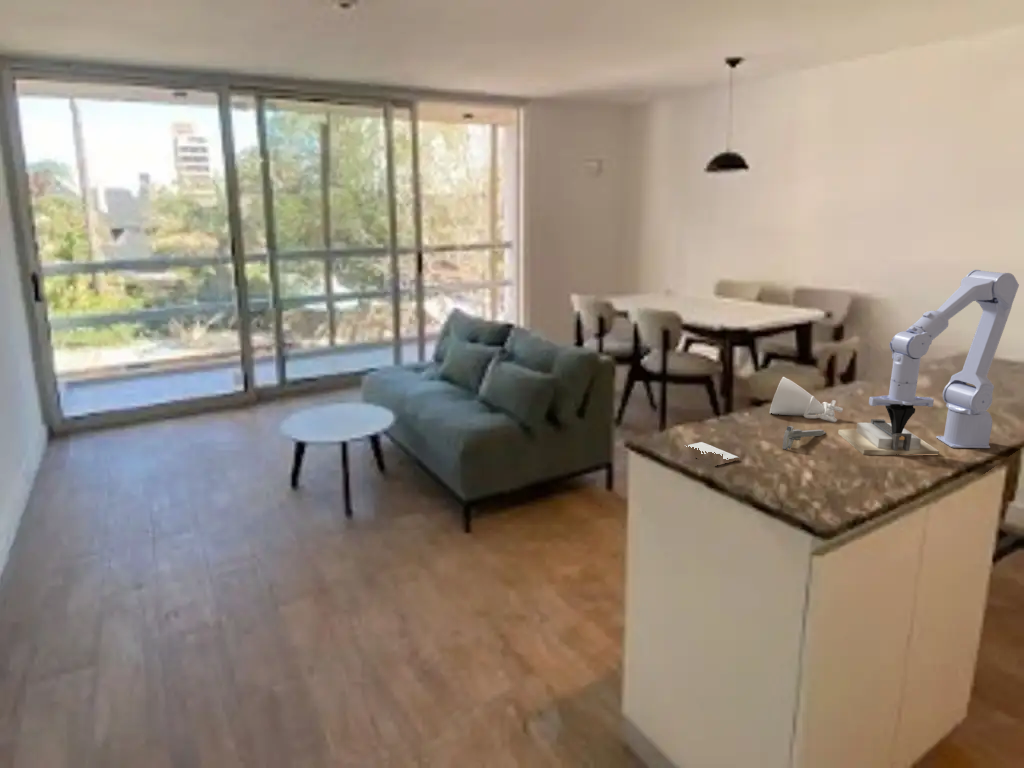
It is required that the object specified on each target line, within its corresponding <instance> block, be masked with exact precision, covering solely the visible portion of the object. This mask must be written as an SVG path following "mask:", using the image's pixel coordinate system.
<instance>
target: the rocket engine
mask: <svg viewBox="0 0 1024 768" xmlns="http://www.w3.org/2000/svg"><path fill="white" fill-rule="evenodd" d="M771 401H772V402H771V405H770V408H769V414H771V413H772V414H773V415H778V414H779V416H803V417H804V418H806V419H821V420H822V421H823V420H825V421H828V422H831V423H836V422H837V421H838V419H837V417H835V415H836V412H839V413H842V412H843V409H844V408H843V407H842V406H840V407H839V406H838V405H836V403H837V400H834V399H832V400H831V402H830V403H828V402H826V401H824V402H822V403H821V402H820V401H819V400H818V399H817V398H816V397H815V395H812V394H811V393H809V392H808V391H807V390H805V389H804V388H803V387H802V386H800V385H798V384H797V383H796V382H794V381H793V380H791V379H789V378H787V377H785V376H782V377H781V379H780V381H779V383H778V386H777V389H776V391H775V393H774V395H773V399H772V400H771Z"/></svg>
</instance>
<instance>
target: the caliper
mask: <svg viewBox="0 0 1024 768" xmlns="http://www.w3.org/2000/svg"><path fill="white" fill-rule="evenodd" d="M824 434H825V435H826V431H825V430H824V429H808V430H807V429H805V430H802V429H794V426H792V425H787V426H786V430H785V431H784V434H783V438H782V439H783V440H782V450H785V449H786V451H788V450H790V448H792V446H793V443H794V440H795V441H801V438H806V437H807V438H809V437H819V436H823V435H824ZM788 448H789V449H788Z"/></svg>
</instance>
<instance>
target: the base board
mask: <svg viewBox="0 0 1024 768" xmlns="http://www.w3.org/2000/svg"><path fill="white" fill-rule="evenodd" d="M873 422H886V420H885V419H882V418H881V419H880V418H872V419H870V422H857V424H856V429H838V433H837V434H838V435H839V436H840V437H842V439H844V440H845V441H846V442H847V443H849V444H850V445H851V446H853V448H854V449H856V450H857V451H858V452H859V453H860V454H862V455H863V456H864V455H866V456H868V455H873V456H875V455H876V456H899V455H898V454H939V455H940V450H938V449H937V448H936V447H934V446H932V445H931V444H929V443H928V442H926V441H924V440H923V439H922V438H920V437H919V436H917V435H915V434H914V433H913V432H911V431H909V430H908V429H906V428H905V427H904V429H903V431H902V433H896V434H893V435H892V437H891V436H890V435H888V434H887V433H885V432H884V431H882V430H881V429H880V428H878V427H877V426H875V425H874V424H873ZM886 423H887V424H889V425H890V426H891V422H886ZM899 436H904V437H905V439H904V440H899ZM896 454H897V455H896Z"/></svg>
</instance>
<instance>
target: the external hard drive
mask: <svg viewBox="0 0 1024 768" xmlns="http://www.w3.org/2000/svg"><path fill="white" fill-rule="evenodd" d="M687 445H688V447H689V446H690V447H691V448H692V447H694V449H695V448H697V450H698V448H699V450H700V451H701V454H703V453H702V451H703V452H704V454H706V453H705V451H706V452H707V453H708V452H712V453H714V452H715V453H716V454H720V455H721V456H722V454H723V459H726V460H729V459H734V458H739V459H740V456H737V455H735V454H732V453H730V452H727V451H725V450H723V449H721V448H718V447H715V446H713V445H710V444H708V443H705V442H704V441H700V442H695V443H691V444H687ZM685 446H686V445H685ZM686 447H687V446H686ZM715 453H714V454H715ZM727 458H728V459H727Z"/></svg>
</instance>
